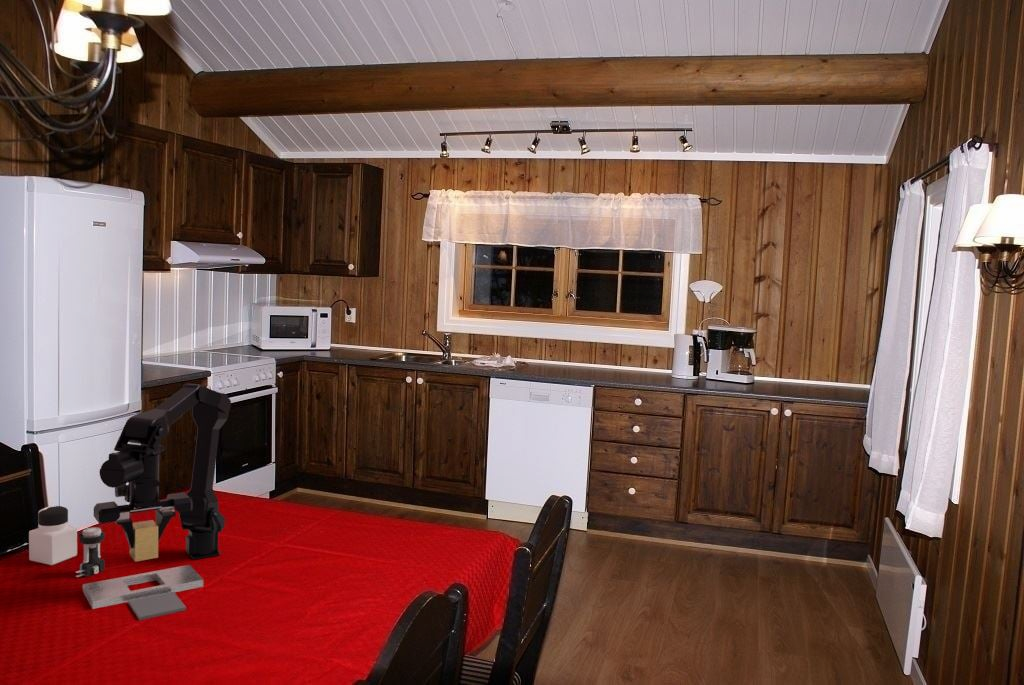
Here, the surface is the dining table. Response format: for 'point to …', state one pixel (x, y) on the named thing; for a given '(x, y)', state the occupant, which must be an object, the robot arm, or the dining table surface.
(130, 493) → the robot arm
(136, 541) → the brass block
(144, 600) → the pad
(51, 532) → the medicine bottle
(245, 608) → the dining table surface
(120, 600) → the rail
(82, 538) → the push button
